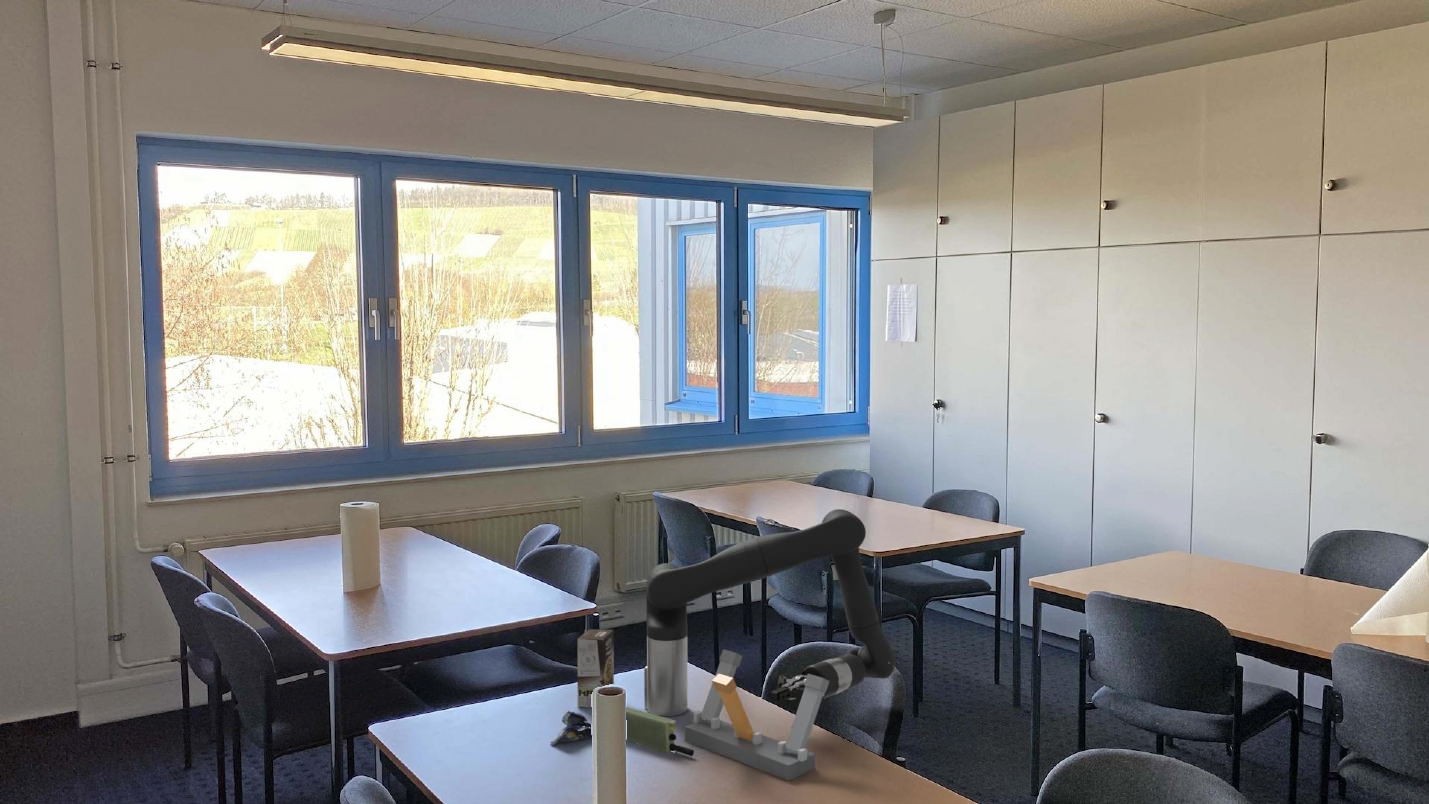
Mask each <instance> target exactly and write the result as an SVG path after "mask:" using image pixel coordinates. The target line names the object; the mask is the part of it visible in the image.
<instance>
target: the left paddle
mask: <svg viewBox="0 0 1429 804" xmlns="http://www.w3.org/2000/svg"><path fill="white" fill-rule="evenodd" d="M742 659H743V655H741V654H739V653H737V652H735V651H731V650H728V649H724V648H723V650H722V651H721V655H720V657H719V661H720V662H719V664H718V667H717V670H716V673H715V675H714V678H715V677H716V676H717V675H718V674H722V675H725V676H728V677H732V678H733V679H734V677H735V673H736V672H737V668H738V667H740V665H741V662H742ZM723 706H724V704H723V701H722V699H721V696H720V694H719V692H718V690H716V689H715V687H714V685H713V682H712V684H711V687H710V689H709V692H708V694H707V697H706V700H705V703H704V704H703V708H702V710H701V712H702V713H701V716H700V717H701V718H702V720H705V719H706V720H709V721H711V719H712V718H715V717H717V718H720V714H721V712H722V709H723Z"/></svg>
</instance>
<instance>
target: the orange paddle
mask: <svg viewBox="0 0 1429 804" xmlns="http://www.w3.org/2000/svg"><path fill="white" fill-rule="evenodd" d="M711 682H712V683H713V685H714V687H715V689H716V690H718V692H719V694H720V696H721V699H722V701H723V706H724V708H725V710H726V713H727V715H728V718H729V720H730V722H731V724H732V725H733V727H734V730H735V732H736V734H737V737H740V738H743V739H746V740H748V741H751V740H752V739H753V734H754V729H753V728H752V725H751V723H750V721H749V720H750V719H749V718H748V715H747V712H746V711H745V708H744V705H743V704H742V701H741V698H740V696H739V694H738V691H737V689H738V687H737V683H736V681H735V679H734V677H733V678H732V677H728V676H725V675H722V674H718V675H717V676H716V677H715V676H714V678H712V679H711Z"/></svg>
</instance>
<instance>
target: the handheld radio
mask: <svg viewBox="0 0 1429 804" xmlns="http://www.w3.org/2000/svg"><path fill="white" fill-rule="evenodd" d="M625 707H626V720H627V740H626V742H627V741H628V740H629V741H628V742H630V743H634V744H636V743H638V744H637V745H639V744H640V746H643V747H646V746H647V747H646V748H649V747H650V748H649V749H652V748H653V750H655V749H656V750H655V751H659V752H662V751H663V752H662V753H665V752H666V753H665V754H673V752H671V751H676V753H681V754H684V755H687V756H689V757H693V756H694V755H695V751H694V749H692V748H688V747H686V746H683V745H679V744H678V745H677V744H675V741H676V740H677V735H676V734H675V733H674V731H676V730H677V729H676V725H675V724H676V722H677V721H676V720H675V719H671V718H668V717H665V716H659V715H654V714H651V713H650V712H648V711H647V712H646V711H642V710H639V709H636V708H632V707H628V706H625Z"/></svg>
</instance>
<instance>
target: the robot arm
mask: <svg viewBox="0 0 1429 804" xmlns="http://www.w3.org/2000/svg"><path fill="white" fill-rule="evenodd" d="M866 533H867V532H866V527H865V524H864V523H863V521H862V520H861V519H860V517H858V516H857V515H855V514H854V513H853V512H851V511H849V510H846V509H840V508H839V509H833V510H831V511H829V512H827V514H826V515H825V516H824V517H823V519H822V521H821V523H817V524H816V525H812V526H810V527H808V528H805V529H801V530H796V531H788V532H778V533H772V534H766V535H762V536H761V535H760V536H757V537H754V538H751V539H748V540H745V541H741V542H739V543H735V544H733V545H732V546H729V547H727V548H726V549H724V550H722V551H720V552H719V553H717V554H715V555H713V556H711V557H710V558H709V559H706V560H704V561H701V562H698V563H694V564H691V565H687V566H682V567H679V566H678V565H676V564H674V563H669V562H668V563H667V562H665V563H660V564H658V565H656V566H655V567H652V569H651V571H650V572H649V574H648V575H647V578H646V587H645V588H646V592H645V594H646V652H647V653H646V666H644V669H643V670H644V673H643V675H644V677H643V679H644V681H643V682H644V690H643V691H644V695H643V696H644V708H645V709H647V710H646V711H647V713H650V714H654V715H657V716H661V717H673V716H678V715H682V714H684V713H686V712H687V711H688V709H689V708H688V613H687V612H688V610H687V609H688V607H687V606H688V605H687V604H688V603H690V602H693V601H695V600H697V599H700V598H702V597H704V596H706V595H709V594H713V593H714V592H718V591H723V590H727V589H731V588H734V587H738V586H741V585H745V584H748V583H753V582H756V581H758V580H762V579H765V578H768V577H772V576H775V575H778V574H780V573H783V572H785V571H788V570H791V569H793V568H796V567H798V566H801V565H804V564H807V563H809V562H813V561H816V560H819V559H824V558H829V557H831V560H832V562H833V565H834V568H835V572H836V575H837V579H838V583H839V587H840V588H839V589H840V593H841V596H842V603H843V607H844V612H845V616H846V620H847V625H848V630H849V633H850V635H851V637H852V638H853V639H854V640H857V641H859V642H862V643H864V646H863V645H862V646H857V647H855V648H852V649H851V650H849V651H848V652H847V653H845V654H844V655H841V656H837V657H835V658H828V659H825V660H822V661H820V662H817V663H813V664H811V665H807V666H806V667H805V668H804V669H803V671H802V672H801V673H800V674H799V675H796V676H793V677H791V679H790V678H787V677H786V676H785V675H784V674H782V675H779V676H778V681H777V688H776V689H774V690H771V692H770V700H771V702H774V703H777V704H779V703H782V702H784V701H786V700H789V701H792V700H796V702H800V701H801V698H802V695H803V692H804V689H805V685H804V684H805V681H806V678H807V675H808V674H811V675H815V676H818V677H822V678H824V679H826V680H828V681H829V684H828V687H827V690H826V693H824V694H823V697H822V700H821V701H823V700H825V699H827V698H828V697H832V696H834V695H837V694H839V693H842V692H844V691H845V690H848V689H849V688H852V687H854V686H857V685H859V684H860V683H862V682H863V681H864V679H865V678H869V679H888V678H890V677H891V676H892V675H891V673H892V672H893V670H894V671H895V669H896V657H895V653H894V651H893V649H892V646H891V644H890V643H889V641H888V639H887V637H886V635H885V633H884V631H883V629H882V628H881V626H880V620H879V615H878V612H877V609H876V604H875V600H874V597H873V594H872V591H871V588H870V586H869V583H868V580H867V577H866V574H865V571H864V568H863V563H862V559H861V555H860V546H861V545H862V544H863V543H864V541H865V539H866ZM860 647H861V648H860ZM888 662H889V663H890V664H889V663H888ZM893 666H894V667H893ZM894 668H895V669H894ZM893 673H894V672H893ZM890 675H891V676H890ZM889 676H890V677H889Z"/></svg>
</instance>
